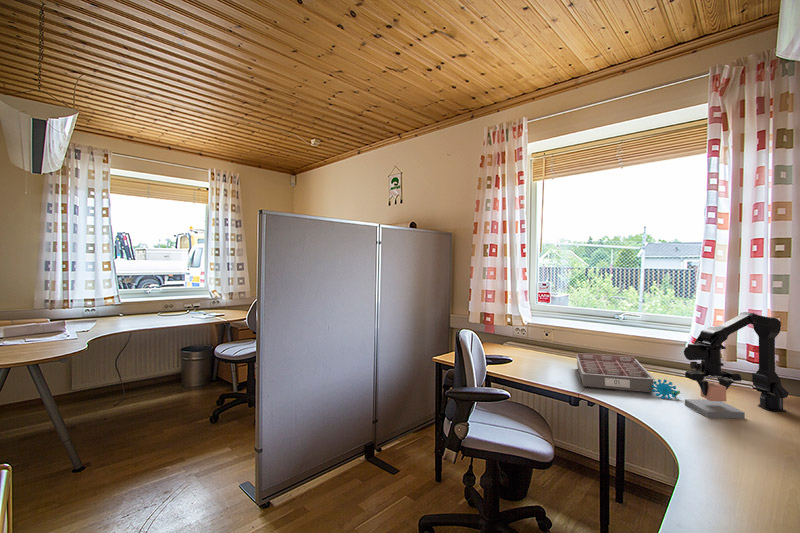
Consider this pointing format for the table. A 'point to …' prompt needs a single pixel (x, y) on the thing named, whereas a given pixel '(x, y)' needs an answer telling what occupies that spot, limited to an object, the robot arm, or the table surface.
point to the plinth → (714, 409)
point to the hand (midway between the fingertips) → (713, 395)
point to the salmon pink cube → (715, 392)
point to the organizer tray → (613, 372)
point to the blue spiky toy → (665, 389)
